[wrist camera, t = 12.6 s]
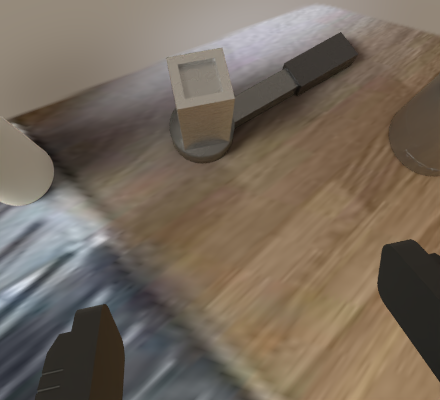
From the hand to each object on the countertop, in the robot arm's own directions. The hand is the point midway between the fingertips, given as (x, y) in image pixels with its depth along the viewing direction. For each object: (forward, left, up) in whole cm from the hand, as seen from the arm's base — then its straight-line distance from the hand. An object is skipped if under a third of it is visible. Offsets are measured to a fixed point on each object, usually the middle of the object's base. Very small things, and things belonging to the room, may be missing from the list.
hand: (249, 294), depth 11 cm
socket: (-13, -11, -26) cm, 31 cm away
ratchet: (-21, -8, -29) cm, 36 cm away
